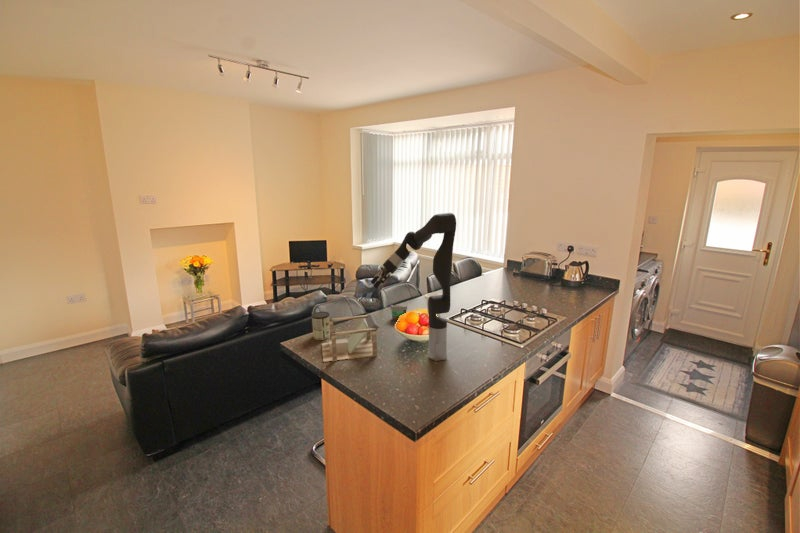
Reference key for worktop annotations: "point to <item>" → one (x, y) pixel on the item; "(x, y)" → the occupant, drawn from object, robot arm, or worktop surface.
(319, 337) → the coffee can
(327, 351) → the trapdoor frame
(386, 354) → the worktop surface
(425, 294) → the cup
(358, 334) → the trapdoor
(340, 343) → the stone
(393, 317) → the food container
